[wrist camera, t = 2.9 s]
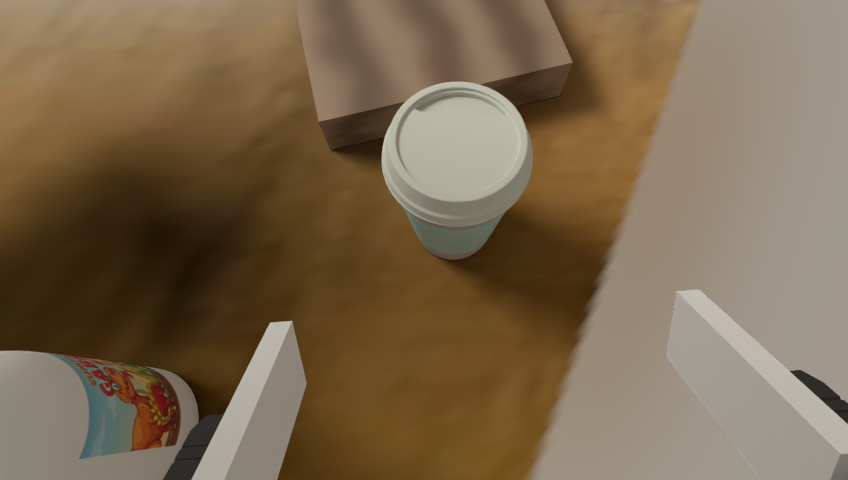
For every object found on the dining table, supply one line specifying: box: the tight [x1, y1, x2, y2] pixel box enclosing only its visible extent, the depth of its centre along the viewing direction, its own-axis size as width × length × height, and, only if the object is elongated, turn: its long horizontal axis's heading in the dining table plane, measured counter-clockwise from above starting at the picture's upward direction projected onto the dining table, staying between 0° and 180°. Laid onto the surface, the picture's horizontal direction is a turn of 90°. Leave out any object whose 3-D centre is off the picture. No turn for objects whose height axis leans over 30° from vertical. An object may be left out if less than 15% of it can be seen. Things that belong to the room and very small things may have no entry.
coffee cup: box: [382, 82, 533, 259], centre depth 30 cm, size 8×8×12 cm
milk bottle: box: [0, 351, 199, 480], centre depth 22 cm, size 8×8×20 cm
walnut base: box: [294, 0, 573, 150], centre depth 40 cm, size 20×20×4 cm
